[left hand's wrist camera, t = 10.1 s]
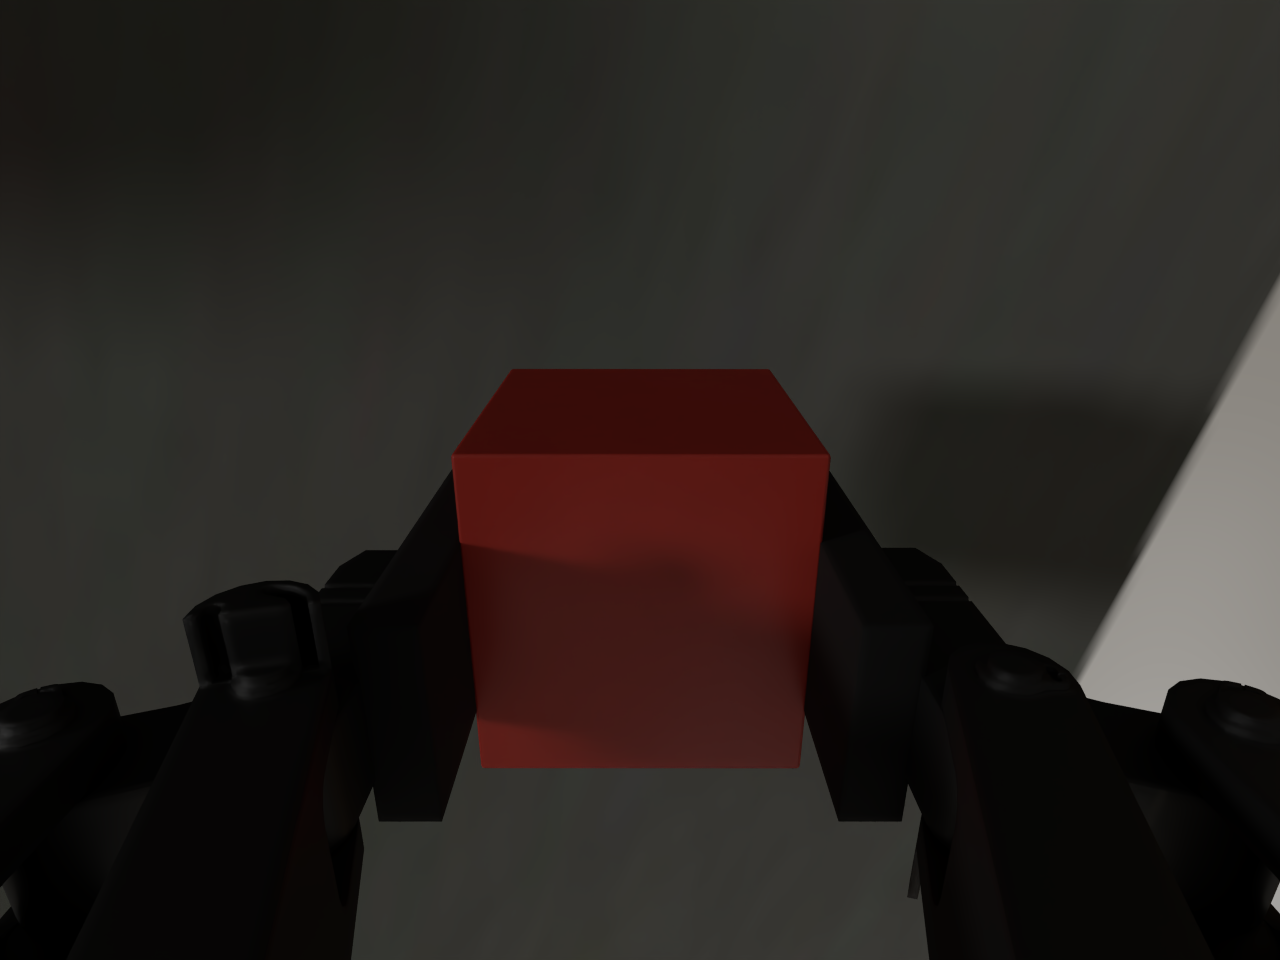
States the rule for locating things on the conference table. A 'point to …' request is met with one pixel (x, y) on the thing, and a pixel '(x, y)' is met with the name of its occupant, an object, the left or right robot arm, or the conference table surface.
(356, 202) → the conference table surface
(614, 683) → the brick
